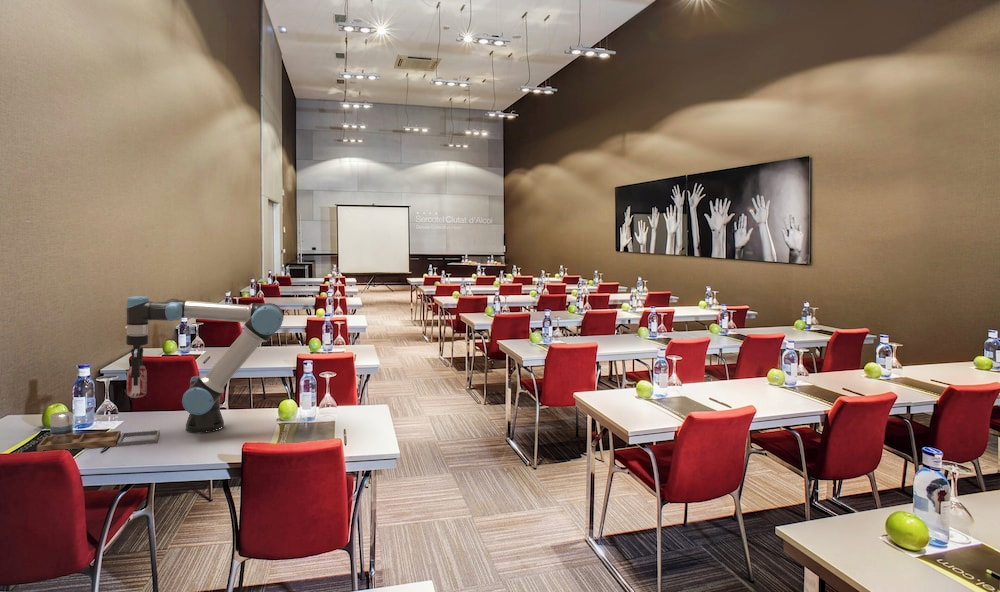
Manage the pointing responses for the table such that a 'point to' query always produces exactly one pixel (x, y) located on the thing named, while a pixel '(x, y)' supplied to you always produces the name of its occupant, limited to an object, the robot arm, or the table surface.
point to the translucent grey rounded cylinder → (61, 428)
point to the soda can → (142, 382)
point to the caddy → (83, 441)
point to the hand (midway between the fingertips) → (137, 391)
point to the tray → (138, 440)
